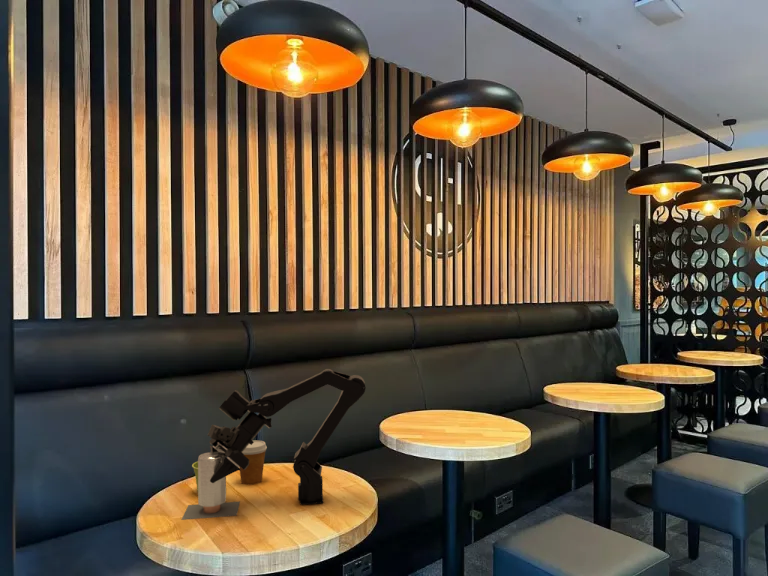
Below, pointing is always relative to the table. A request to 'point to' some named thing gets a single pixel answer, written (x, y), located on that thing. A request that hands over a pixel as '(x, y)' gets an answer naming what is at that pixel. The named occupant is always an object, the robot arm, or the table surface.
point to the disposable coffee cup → (253, 463)
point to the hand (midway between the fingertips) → (207, 478)
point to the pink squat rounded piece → (211, 509)
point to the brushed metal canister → (207, 490)
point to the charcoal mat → (198, 513)
